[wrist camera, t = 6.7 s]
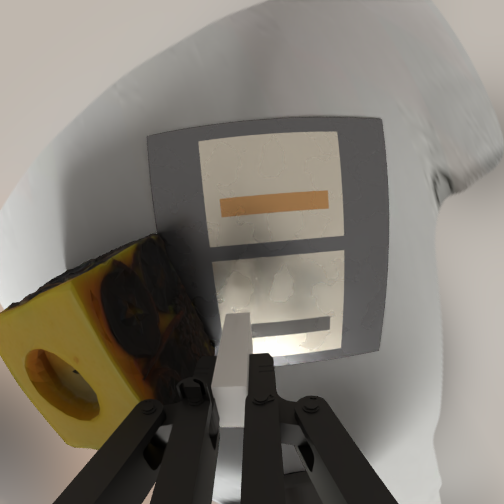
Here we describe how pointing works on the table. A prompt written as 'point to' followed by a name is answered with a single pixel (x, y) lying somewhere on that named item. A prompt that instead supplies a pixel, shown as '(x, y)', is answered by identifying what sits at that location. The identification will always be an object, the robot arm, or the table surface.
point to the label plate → (279, 230)
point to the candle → (104, 341)
